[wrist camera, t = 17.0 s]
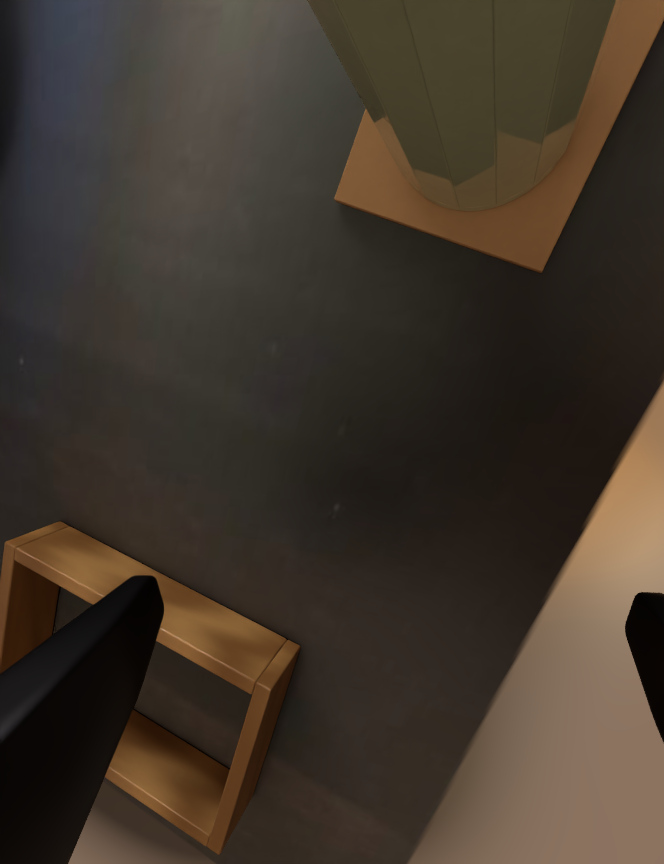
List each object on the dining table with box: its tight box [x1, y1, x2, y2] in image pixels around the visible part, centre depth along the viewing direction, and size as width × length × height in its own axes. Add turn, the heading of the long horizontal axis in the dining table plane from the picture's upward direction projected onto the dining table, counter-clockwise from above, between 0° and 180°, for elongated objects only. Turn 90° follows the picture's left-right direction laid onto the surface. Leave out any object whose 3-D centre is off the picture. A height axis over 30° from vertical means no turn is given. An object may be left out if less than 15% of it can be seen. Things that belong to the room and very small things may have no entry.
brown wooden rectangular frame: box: [0, 521, 300, 855], centre depth 26 cm, size 17×11×4 cm, turn 73°
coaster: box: [334, 0, 664, 273], centre depth 18 cm, size 9×9×1 cm
